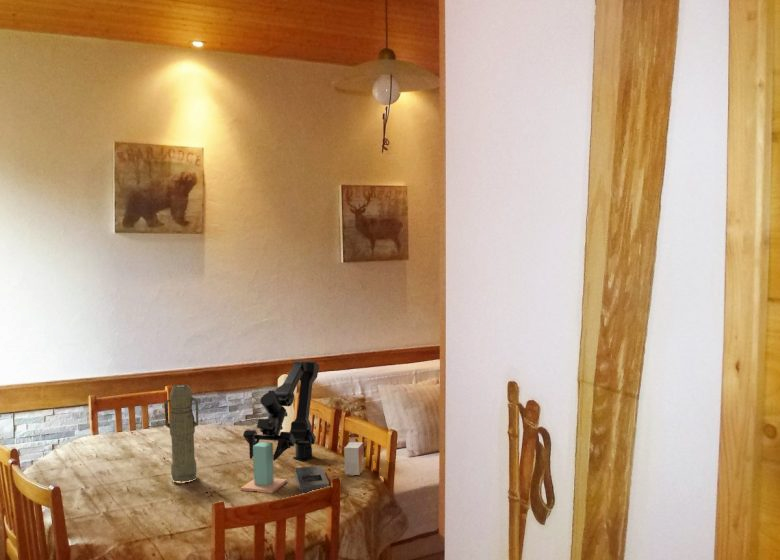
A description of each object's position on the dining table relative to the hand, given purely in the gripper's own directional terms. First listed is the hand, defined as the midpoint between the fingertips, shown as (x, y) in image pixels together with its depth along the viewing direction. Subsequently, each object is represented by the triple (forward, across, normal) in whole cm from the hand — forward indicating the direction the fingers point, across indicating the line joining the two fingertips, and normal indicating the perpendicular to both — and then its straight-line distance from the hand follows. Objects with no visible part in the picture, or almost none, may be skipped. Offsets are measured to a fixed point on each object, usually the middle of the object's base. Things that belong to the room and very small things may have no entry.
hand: (262, 459), depth 249 cm
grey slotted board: (+1, +15, +13) cm, 20 cm away
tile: (+6, 0, +8) cm, 10 cm away
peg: (+6, 0, +7) cm, 9 cm away
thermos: (+7, -33, +8) cm, 34 cm away
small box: (-9, +26, +23) cm, 36 cm away
